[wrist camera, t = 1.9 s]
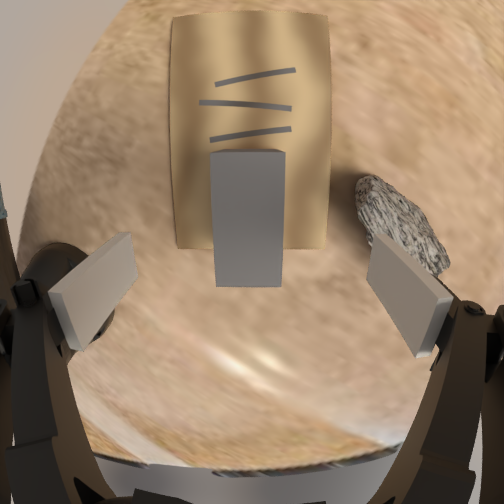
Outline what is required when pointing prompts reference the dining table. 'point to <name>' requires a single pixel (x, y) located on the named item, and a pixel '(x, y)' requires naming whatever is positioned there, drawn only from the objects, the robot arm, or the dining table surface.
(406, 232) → the rock
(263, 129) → the board
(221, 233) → the block
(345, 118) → the dining table surface
